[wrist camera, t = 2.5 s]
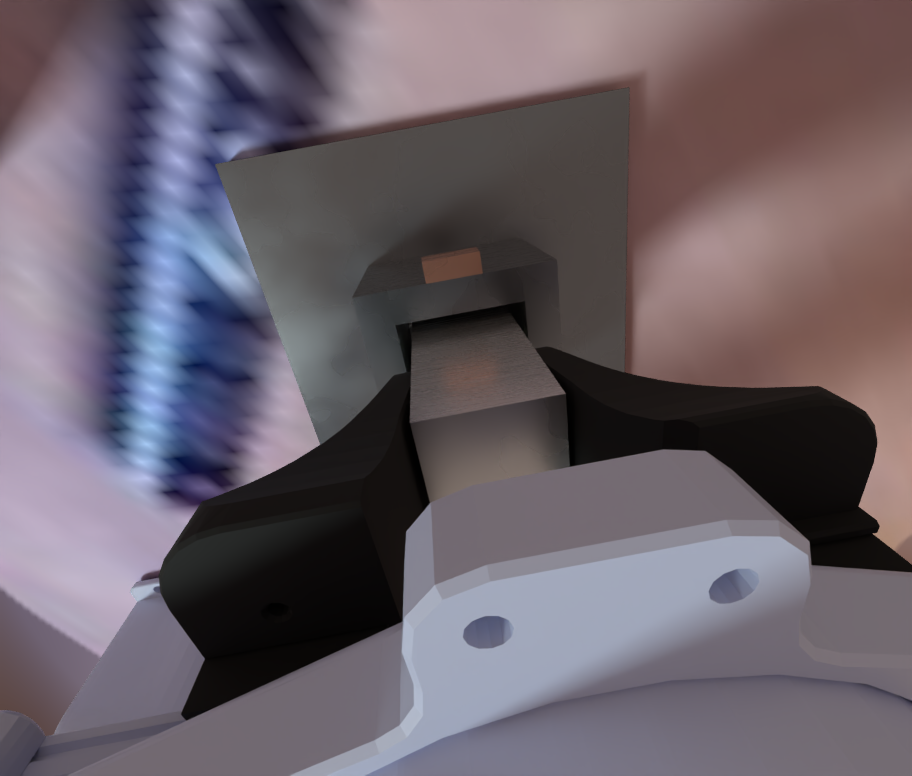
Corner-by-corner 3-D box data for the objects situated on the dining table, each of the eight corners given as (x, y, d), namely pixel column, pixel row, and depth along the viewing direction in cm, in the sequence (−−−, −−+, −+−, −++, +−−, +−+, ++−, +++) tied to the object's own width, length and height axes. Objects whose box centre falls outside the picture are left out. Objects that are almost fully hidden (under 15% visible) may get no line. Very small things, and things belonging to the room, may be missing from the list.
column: (426, 367, 18) (437, 539, 9) (411, 295, 17) (406, 421, 8) (499, 353, 18) (574, 513, 9) (490, 280, 17) (568, 391, 8)
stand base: (339, 478, 21) (317, 569, 16) (224, 164, 15) (130, 159, 10) (616, 426, 21) (677, 501, 16) (619, 91, 15) (719, 50, 10)
